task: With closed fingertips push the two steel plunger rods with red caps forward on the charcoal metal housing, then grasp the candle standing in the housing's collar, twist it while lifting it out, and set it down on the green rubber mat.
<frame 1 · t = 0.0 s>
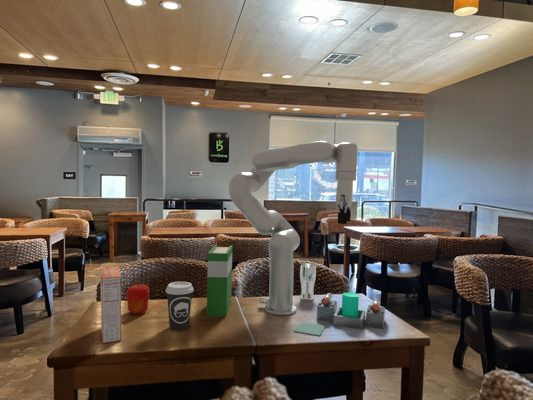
hand: (344, 222, 144), 37 cm above the table, tool pointing down, fingers open, 9 cm apart
pad: (309, 329, 135), on the table
apple: (138, 313, 147), on the table
candle: (349, 322, 143), resting in housing
coffee cup: (179, 327, 134), on the table
cracker box: (110, 335, 126), on the table
housing: (350, 319, 145), on the table
beer glass: (307, 298, 170), on the table
hardback book: (219, 309, 154), on the table
left plunger: (327, 299, 148), point 7 cm above the table, slide at 0.0 cm
right plunger: (376, 305, 142), point 7 cm above the table, slide at 0.0 cm
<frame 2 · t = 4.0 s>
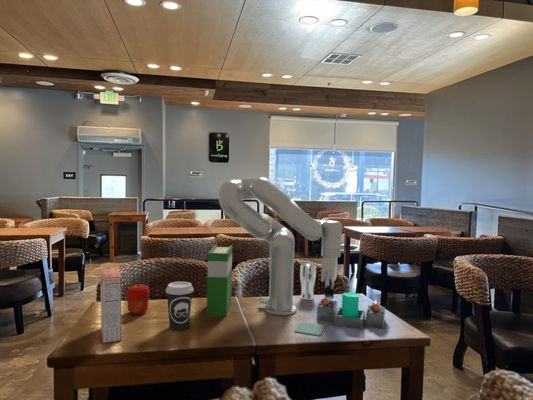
hand: (328, 298, 152), 6 cm above the table, tool pointing down, fingers closed
left plunger: (326, 300, 146), point 7 cm above the table, slide at 1.4 cm, touching gripper
everything else where it was.
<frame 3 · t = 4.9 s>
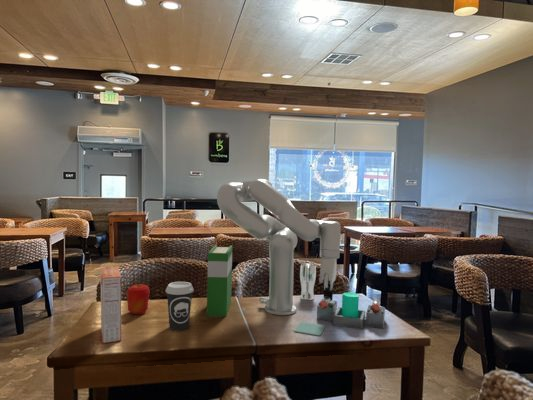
hand: (327, 300, 149), 6 cm above the table, tool pointing down, fingers closed
left plunger: (325, 302, 144), point 7 cm above the table, slide at 4.2 cm, touching gripper
everything else where it was.
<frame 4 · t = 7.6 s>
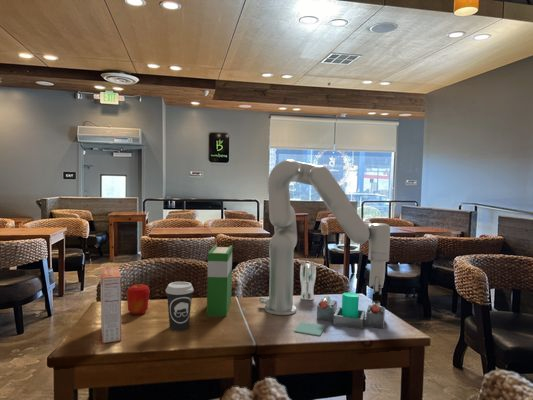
hand: (376, 303, 146), 6 cm above the table, tool pointing down, fingers closed
left plunger: (325, 302, 144), point 7 cm above the table, slide at 4.3 cm
right plunger: (375, 306, 140), point 7 cm above the table, slide at 1.3 cm, touching gripper
everything else where it was.
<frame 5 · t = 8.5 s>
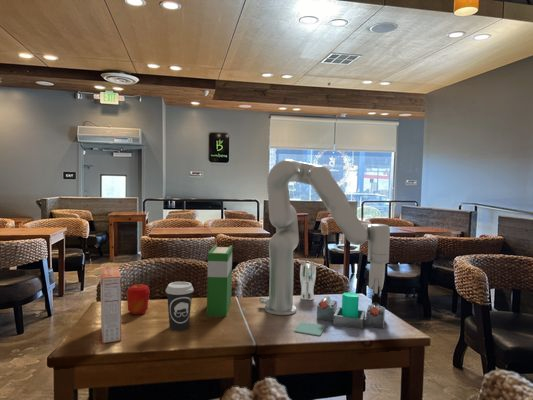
hand: (376, 306, 143), 6 cm above the table, tool pointing down, fingers closed
right plunger: (375, 308, 138), point 7 cm above the table, slide at 4.2 cm, touching gripper
everything else where it was.
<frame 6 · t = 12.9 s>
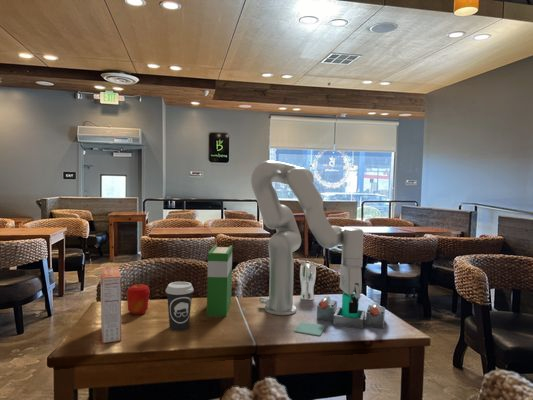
hand: (350, 310, 142), 5 cm above the table, tool pointing down, fingers closed on candle, 4 cm apart
candle: (349, 322, 143), resting in housing, touching gripper
right plunger: (375, 308, 138), point 7 cm above the table, slide at 4.2 cm
everything else where it was.
when the fingers open (6 cm above the table, at t = 18.4 s): candle drops 1 cm, resting on pad.
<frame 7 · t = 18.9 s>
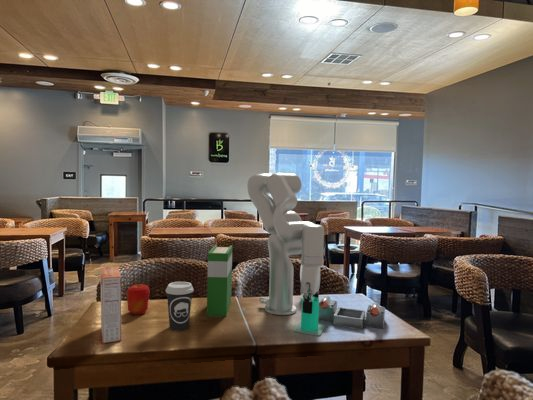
hand: (310, 308, 134), 7 cm above the table, tool pointing down, fingers open, 9 cm apart
candle: (309, 328, 135), resting on pad
everything else where it was.
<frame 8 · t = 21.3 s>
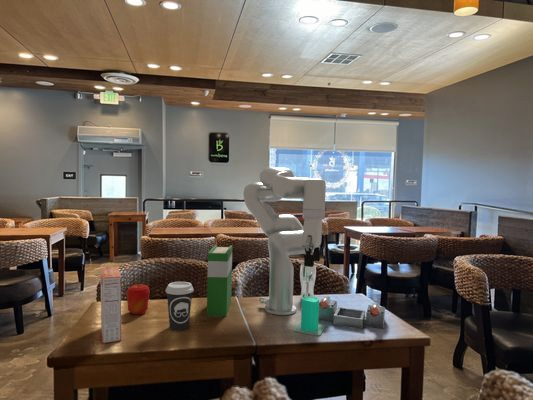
hand: (312, 263, 134), 23 cm above the table, tool pointing down, fingers open, 9 cm apart
nothing on the table moved.
at the end: left plunger slide at 4.3 cm; right plunger slide at 4.2 cm; candle inside the target area on the pad (0.2 cm from its centre), point 0.2 cm above the pad's base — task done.
